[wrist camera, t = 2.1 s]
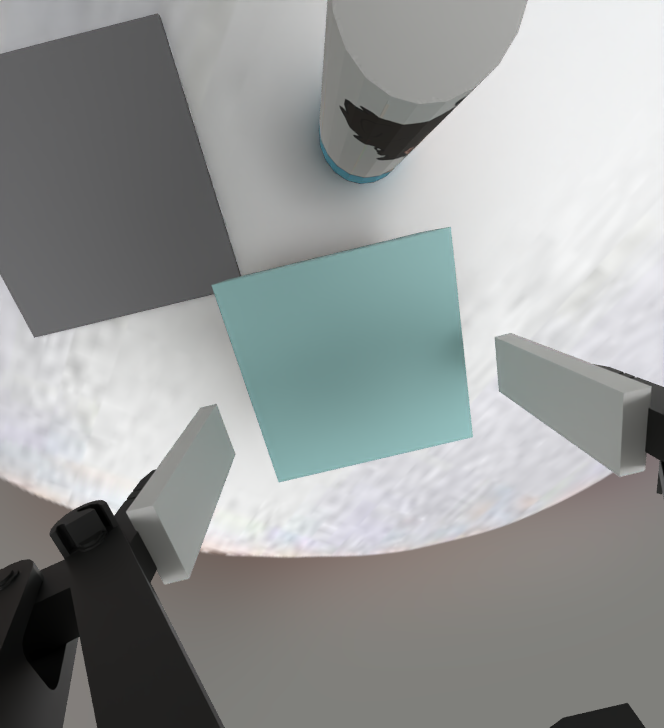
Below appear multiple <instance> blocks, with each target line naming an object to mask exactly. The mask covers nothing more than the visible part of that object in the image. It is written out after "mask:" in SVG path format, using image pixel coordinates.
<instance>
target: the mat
mask: <svg viewBox="0 0 664 728" xmlns="http://www.w3.org/2000/svg"><path fill="white" fill-rule="evenodd" d="M0 275H1V277H2V278H3V280H4V282H5V284H6V286H7V288H8V290H9V291H10V293H11V295H12V297H13V299H14V301H15V302H16V304H17V306H18V308H19V310H20V312H21V314H22V315H23V317H24V319H25V321H26V323H27V325H28V327H29V328H30V330H31V332H32V334H33V336H34V337H38V336H43V335H47V334H51V333H55V332H59V331H63V330H67V329H71V328H75V327H80V326H84V325H88V324H92V323H96V322H100V321H104V320H108V319H112V318H117V317H121V316H125V315H129V314H133V313H137V312H141V311H145V310H149V309H154V308H158V307H162V306H166V305H170V304H174V303H178V302H182V301H186V300H191V299H195V298H199V297H203V296H207V295H211V294H214V291H213V288H212V285H214V284H217V283H220V282H222V281H225V280H228V279H232V278H236V277H240V276H241V275H240V272H239V269H238V266H237V262H236V259H235V256H234V253H233V250H232V246H231V243H230V240H229V237H228V234H227V230H226V227H225V224H224V221H223V217H222V214H221V211H220V208H219V205H218V201H217V198H216V195H215V192H214V188H213V185H212V182H211V179H210V176H209V172H208V169H207V166H206V163H205V160H204V156H203V153H202V150H201V147H200V143H199V140H198V137H197V134H196V131H195V127H194V124H193V121H192V118H191V115H190V111H189V108H188V105H187V102H186V98H185V95H184V92H183V89H182V86H181V82H180V79H179V76H178V73H177V69H176V66H175V63H174V60H173V57H172V53H171V50H170V47H169V44H168V41H167V37H166V34H165V31H164V28H163V24H162V21H161V18H160V16H159V15H158V14H154V15H150V16H146V17H142V18H139V19H135V20H131V21H127V22H123V23H119V24H115V25H111V26H108V27H104V28H100V29H96V30H92V31H88V32H84V33H80V34H77V35H73V36H69V37H65V38H61V39H57V40H53V41H49V42H45V43H42V44H38V45H34V46H30V47H26V48H22V49H18V50H14V51H11V52H7V53H3V54H0Z"/></svg>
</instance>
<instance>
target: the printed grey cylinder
mask: <svg viewBox="0 0 664 728" xmlns="http://www.w3.org/2000/svg"><path fill="white" fill-rule="evenodd" d="M527 1H528V0H328V2H327V16H326V31H325V46H324V61H323V76H322V90H321V105H320V120H319V136H320V146H321V149H322V151H323V154H324V156H325V159H326V161H327V162H328V164H329V165H330V166H331V167H332V169H333V170H334V171H335V173H337V174H338V175H340V176H341V177H343V178H344V179H346V180H348V181H352V182H356V183H360V184H361V183H371V182H375V181H377V180H379V179H381V178H383V177H385V176H387V175H388V174H389V173H390V172H391V171H392V170H393V169H394V168H395V167H396V166H397V165H398V164H399V163H400V162H401V161H402V160H403V159H404V158H405V157H406V156H407V155H408V154H409V153H410V152H411V151H412V150H413V149H414V148H415V147H416V146H417V145H418V144H419V143H420V142H421V141H422V140H423V139H424V138H425V137H426V136H427V135H428V134H429V133H430V132H431V131H432V130H433V129H434V128H435V127H436V126H437V125H438V124H439V123H440V122H441V121H442V120H443V119H444V118H445V117H446V116H447V115H448V114H449V113H450V112H451V111H452V110H453V109H454V108H455V107H456V106H457V105H458V104H459V103H460V102H461V101H462V100H463V99H464V98H466V97H467V96H468V95H469V94H470V93H471V92H472V91H473V90H474V89H475V88H476V87H477V86H478V85H479V84H480V83H481V82H482V81H483V80H484V79H485V78H486V77H487V76H488V75H489V74H490V73H491V72H492V71H493V70H494V69H495V68H496V67H497V66H498V65H499V63H500V62H501V60H502V58H503V57H504V55H505V53H506V52H507V50H508V48H509V47H510V45H511V43H512V42H513V40H514V38H515V36H516V35H517V33H518V31H519V27H520V24H521V21H522V18H523V14H524V11H525V8H526V4H527Z"/></svg>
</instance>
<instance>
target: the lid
mask: <svg viewBox="0 0 664 728" xmlns="http://www.w3.org/2000/svg"><path fill="white" fill-rule="evenodd" d="M212 288H213V291H214V294H215V297H216V300H217V303H218V306H219V309H220V312H221V315H222V317H223V320H224V323H225V326H226V329H227V332H228V335H229V338H230V341H231V344H232V347H233V350H234V353H235V356H236V358H237V361H238V364H239V367H240V370H241V373H242V376H243V379H244V382H245V385H246V388H247V391H248V394H249V396H250V399H251V402H252V405H253V408H254V411H255V414H256V417H257V420H258V423H259V426H260V429H261V432H262V435H263V437H264V440H265V443H266V446H267V449H268V452H269V455H270V458H271V461H272V464H273V467H274V470H275V473H276V475H277V478H278V481H279V482H283V481H287V480H291V479H295V478H300V477H304V476H308V475H313V474H317V473H321V472H325V471H330V470H334V469H338V468H342V467H347V466H351V465H355V464H360V463H364V462H368V461H372V460H377V459H381V458H385V457H390V456H394V455H398V454H402V453H407V452H411V451H415V450H420V449H424V448H428V447H432V446H437V445H441V444H445V443H450V442H454V441H458V440H462V439H467V438H471V437H473V434H472V425H471V415H470V406H469V396H468V387H467V377H466V368H465V358H464V349H463V339H462V330H461V321H460V311H459V302H458V292H457V283H456V273H455V264H454V254H453V245H452V235H451V227H448V228H442V229H436V230H430V231H424V232H420V233H416V234H412V235H408V236H404V237H400V238H396V239H392V240H388V241H383V242H379V243H375V244H371V245H367V246H363V247H359V248H355V249H351V250H347V251H342V252H338V253H334V254H330V255H326V256H322V257H318V258H314V259H310V260H306V261H301V262H297V263H293V264H289V265H285V266H281V267H277V268H273V269H269V270H265V271H260V272H256V273H252V274H248V275H244V276H240V277H236V278H232V279H228V280H225V281H222V282H220V283H217V284H214V285H212Z"/></svg>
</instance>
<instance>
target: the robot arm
mask: <svg viewBox="0 0 664 728" xmlns="http://www.w3.org/2000/svg"><path fill="white" fill-rule="evenodd" d="M495 347H496V360H497V372H498V385H499V392H501V393H502V394H504V395H505V396H506V397H508V398H509V399H511V400H512V401H513V402H515V403H516V404H518V405H519V406H521V407H522V408H523V409H525V410H526V411H528V412H529V413H530V414H532V415H533V416H535V417H536V418H537V419H539V420H540V421H542V422H543V423H545V424H546V425H547V426H549V427H550V428H552V429H553V430H554V431H556V432H557V433H559V434H560V435H561V436H563V437H564V438H566V439H567V440H568V441H570V442H571V443H573V444H574V445H576V446H577V447H578V448H580V449H581V450H583V451H584V452H585V453H587V454H588V455H590V456H591V457H592V458H594V459H595V460H597V461H598V462H599V463H601V464H602V465H604V466H605V467H607V468H608V469H609V470H611V471H612V472H614V473H615V474H616V475H618V476H619V477H621V476H625V475H630V474H634V473H637V472H642V471H645V465H646V453H649V454H650V455H652V456H654V457H655V458H657V459H659V460H660V463H659V473H658V485H657V493H659V494H662V493H663V497H664V387H662V386H659V385H657V384H654V383H651V382H649V381H646V380H643V379H640V378H638V377H637V378H635V376H632V375H630V374H627V373H623V372H621V371H619V370H616V369H613V368H611V367H606V366H600V365H595V364H591V363H588V362H586V361H583V360H581V359H578V358H575V357H573V356H570V355H567V354H565V353H562V352H559V351H557V350H554V349H552V348H549V347H546V346H544V345H541V344H538V343H536V342H533V341H531V340H528V339H525V338H523V337H520V336H517V335H515V334H512V333H509V334H505V335H501V336H497V337H495ZM234 457H235V452H234V449H233V447H232V444H231V441H230V439H229V436H228V433H227V431H226V428H225V425H224V423H223V420H222V417H221V415H220V412H219V409H218V407H217V404H215V405H211V406H206V407H202V408H200V409H199V411H198V412H197V413H196V415H195V416H194V418H193V419H192V420H191V422H190V423H189V425H188V426H187V427H186V429H185V430H184V432H183V433H182V434H181V436H180V437H179V439H178V440H177V441H176V443H175V444H174V445H173V447H172V448H171V450H170V451H169V452H168V454H167V455H166V457H165V458H164V459H163V461H162V462H161V464H160V465H159V466H158V468H157V469H156V470H152V471H151V472H150V473H149V474H148V475H146V476H145V477H144V478H143V479H142V480H141V481H140V482H139V483H138V485H137V486H136V487H135V489H134V490H133V492H132V493H131V494H130V495H129V497H128V498H127V501H125V502H124V503H123V505H122V506H121V507H120V509H119V510H118V511H117V513H116V514H115V515H113V513H112V512H111V510H110V508H109V506H108V504H107V502H105V501H103V500H97V501H93V502H89V503H86V504H84V505H82V506H80V507H78V508H76V509H74V510H73V511H71V512H69V513H68V514H66V515H65V516H64V517H63V518H61V519H60V520H59V521H58V522H57V523H56V524H55V525H54V526H53V528H52V529H51V531H50V537H51V538H52V540H53V541H54V543H55V544H56V546H57V547H58V549H59V551H60V552H61V554H62V555H63V557H64V559H65V560H63V561H60V562H58V563H56V564H54V565H51V566H49V567H47V568H45V569H42V570H41V571H39V569H38V568H37V566H36V565H35V563H34V562H33V561H31V560H21V561H19V562H16V563H13V564H11V565H9V566H7V567H5V568H4V569H1V570H0V728H63V722H64V716H65V711H66V705H67V700H68V694H69V688H70V682H71V677H72V671H73V665H74V659H75V654H76V648H77V642H78V637H80V640H81V646H82V651H83V656H84V661H85V666H86V672H87V676H88V682H89V687H90V692H91V697H92V703H93V707H94V713H95V718H96V723H97V728H225V727H224V726H223V724H222V722H221V719H220V718H219V716H218V714H217V712H216V710H215V708H214V706H213V704H212V702H211V700H210V698H209V696H208V694H207V692H206V690H205V688H204V686H203V684H202V683H201V680H200V678H199V677H198V675H197V673H196V671H195V669H194V667H193V665H192V663H191V661H190V659H189V657H188V655H187V653H186V651H185V649H184V647H183V645H182V643H181V641H180V640H179V637H178V635H177V633H176V631H175V630H174V628H173V626H172V624H171V622H170V620H169V618H168V616H167V614H166V612H165V610H164V608H163V606H162V604H161V602H160V600H159V598H158V596H157V594H156V592H155V591H154V589H153V587H152V585H151V583H150V582H151V580H152V578H153V576H154V574H155V572H156V570H157V572H158V574H159V575H160V577H161V579H162V581H163V583H164V584H169V583H173V582H177V581H181V580H185V579H189V578H190V575H191V572H192V570H193V567H194V564H195V561H196V559H197V556H198V553H199V551H200V548H201V545H202V543H203V540H204V537H205V535H206V532H207V529H208V526H209V524H210V521H211V518H212V516H213V513H214V510H215V508H216V505H217V502H218V500H219V497H220V494H221V492H222V489H223V486H224V483H225V481H226V478H227V475H228V473H229V470H230V467H231V465H232V462H233V459H234ZM550 728H645V727H644V725H643V724H642V722H641V721H640V720H639V718H638V717H637V715H636V714H635V713H634V711H633V710H632V708H631V707H630V706H629V704H628V703H625V704H621V705H617V706H612V707H608V708H603V709H599V710H595V711H591V712H586V713H582V714H577V715H574V716H569V717H565V718H562V719H561V720H560V721H558V722H557V723H556V724H554V725H553V726H551V727H550Z"/></svg>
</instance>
